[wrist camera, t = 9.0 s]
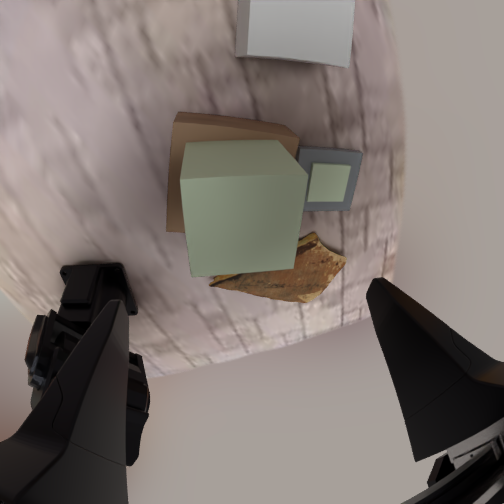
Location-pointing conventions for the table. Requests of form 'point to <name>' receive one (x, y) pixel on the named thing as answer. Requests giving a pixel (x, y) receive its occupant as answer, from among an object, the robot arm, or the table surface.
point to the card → (329, 177)
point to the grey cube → (296, 30)
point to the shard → (290, 275)
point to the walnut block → (213, 129)
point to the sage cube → (241, 206)
